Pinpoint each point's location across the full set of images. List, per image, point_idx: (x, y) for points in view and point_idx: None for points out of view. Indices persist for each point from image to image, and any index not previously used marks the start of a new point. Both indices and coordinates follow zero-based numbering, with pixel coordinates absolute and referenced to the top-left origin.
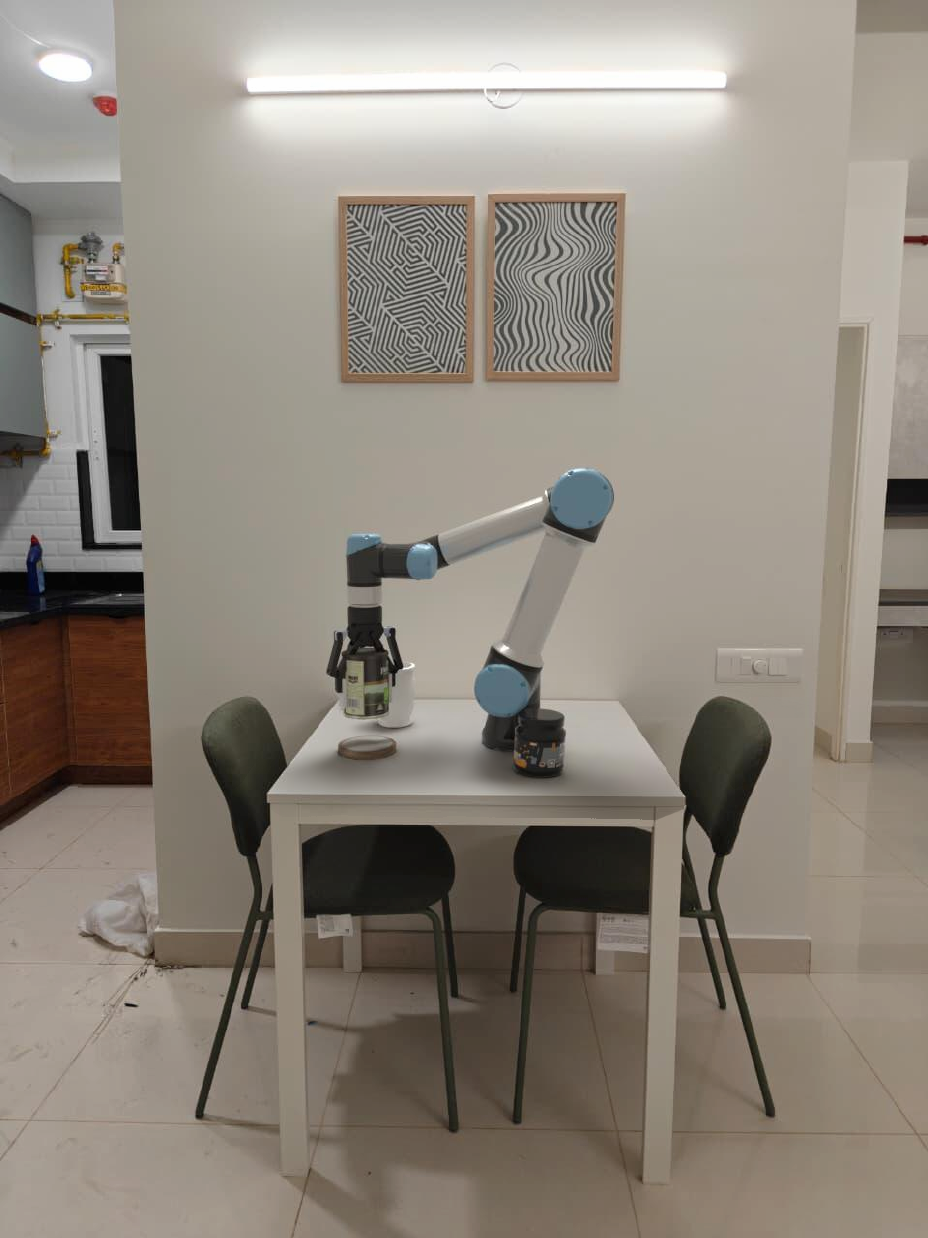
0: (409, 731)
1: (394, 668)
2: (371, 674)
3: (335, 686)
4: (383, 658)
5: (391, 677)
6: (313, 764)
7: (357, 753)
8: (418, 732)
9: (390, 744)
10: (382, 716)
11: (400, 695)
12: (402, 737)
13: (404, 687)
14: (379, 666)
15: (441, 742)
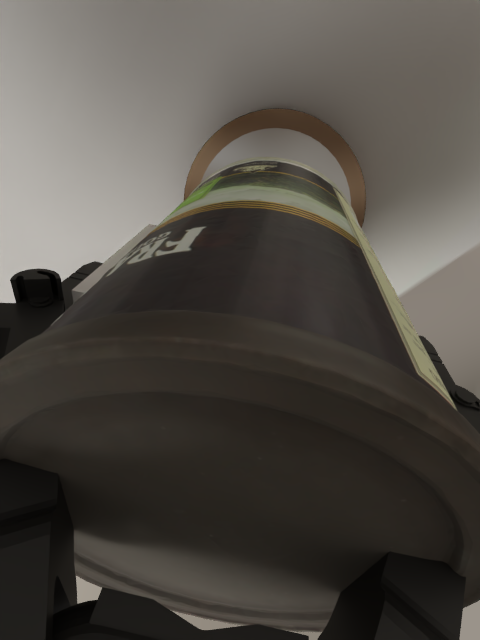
0: None
1: (24, 308)
2: (311, 241)
3: None
4: (94, 314)
5: (88, 279)
6: (472, 206)
7: (354, 155)
8: (77, 251)
9: (222, 151)
10: (245, 159)
11: None
12: None
13: None
14: (202, 259)
15: (46, 121)
